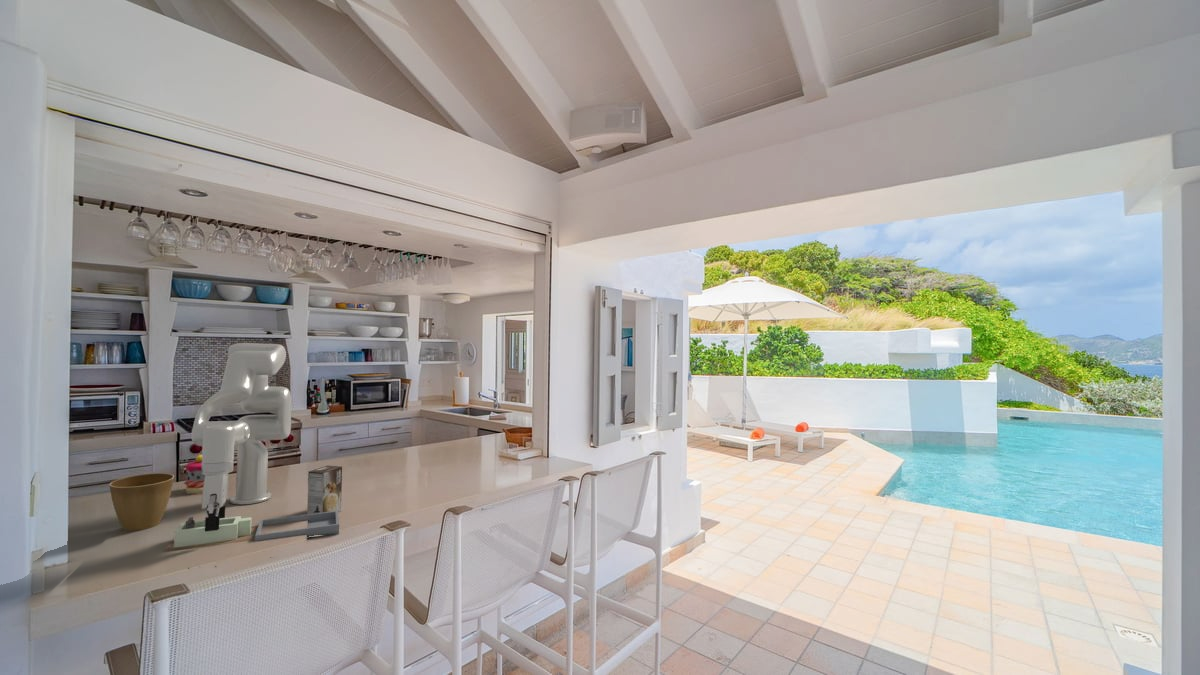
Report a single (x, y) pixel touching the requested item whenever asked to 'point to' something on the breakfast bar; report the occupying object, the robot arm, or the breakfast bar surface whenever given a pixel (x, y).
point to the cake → (195, 477)
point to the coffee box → (324, 489)
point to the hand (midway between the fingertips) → (215, 525)
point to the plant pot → (141, 499)
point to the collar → (226, 531)
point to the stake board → (191, 525)
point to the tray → (316, 526)
